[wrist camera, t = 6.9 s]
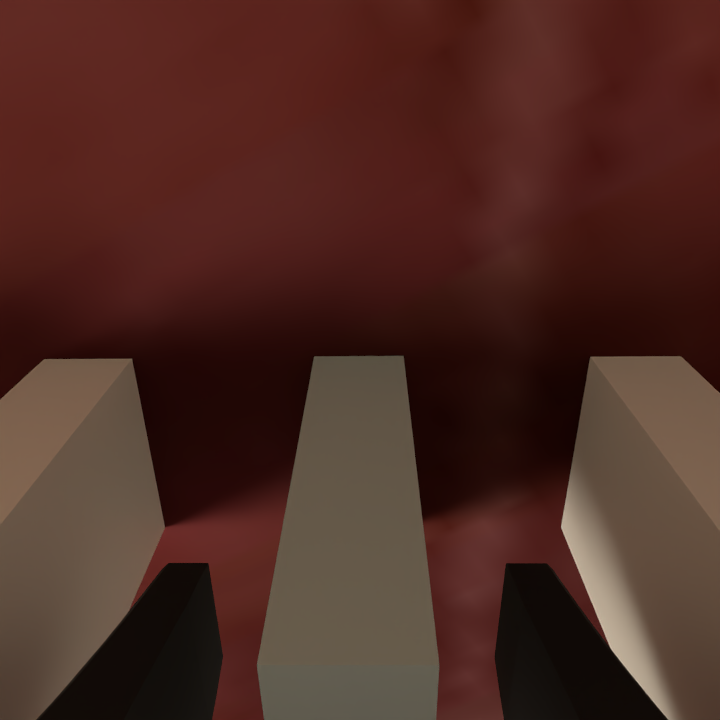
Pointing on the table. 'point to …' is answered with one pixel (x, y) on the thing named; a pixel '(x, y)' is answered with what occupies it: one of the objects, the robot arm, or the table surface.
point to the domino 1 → (69, 522)
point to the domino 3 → (652, 524)
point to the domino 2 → (352, 558)
